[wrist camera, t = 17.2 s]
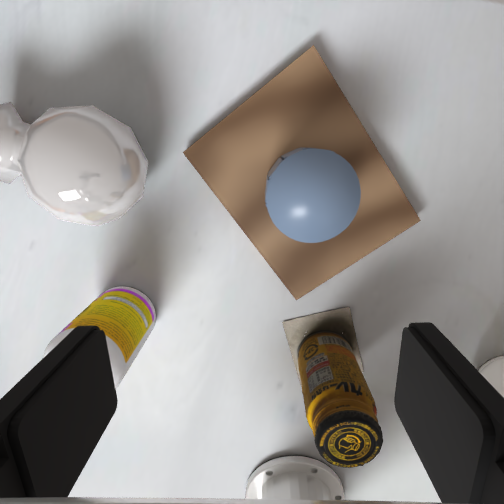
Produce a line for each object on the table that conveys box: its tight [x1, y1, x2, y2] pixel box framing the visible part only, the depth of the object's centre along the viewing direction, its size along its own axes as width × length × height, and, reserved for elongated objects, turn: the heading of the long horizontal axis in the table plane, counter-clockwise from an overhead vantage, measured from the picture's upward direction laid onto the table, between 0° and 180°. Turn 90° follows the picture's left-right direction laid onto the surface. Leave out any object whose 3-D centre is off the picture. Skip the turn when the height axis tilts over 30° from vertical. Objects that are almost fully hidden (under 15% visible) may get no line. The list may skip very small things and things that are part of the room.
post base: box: [183, 45, 421, 300], centre depth 29 cm, size 18×14×6 cm
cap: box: [265, 147, 361, 243], centre depth 28 cm, size 7×7×6 cm
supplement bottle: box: [43, 286, 156, 389], centre depth 30 cm, size 7×7×13 cm
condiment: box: [282, 307, 383, 468], centre depth 31 cm, size 7×8×12 cm
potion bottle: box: [0, 102, 148, 226], centre depth 27 cm, size 9×10×15 cm
